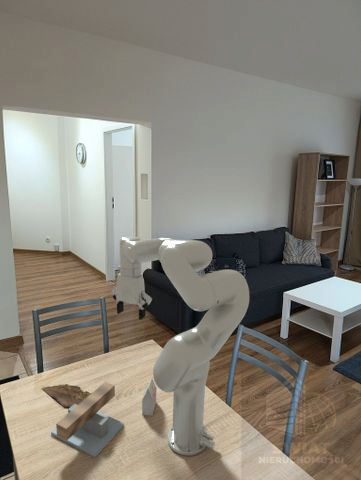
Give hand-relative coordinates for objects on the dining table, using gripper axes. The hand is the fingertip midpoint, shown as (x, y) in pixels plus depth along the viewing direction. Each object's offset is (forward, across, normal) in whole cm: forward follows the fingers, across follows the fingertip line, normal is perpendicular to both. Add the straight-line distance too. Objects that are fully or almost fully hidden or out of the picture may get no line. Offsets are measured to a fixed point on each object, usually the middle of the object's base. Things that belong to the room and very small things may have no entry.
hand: (131, 315), depth 121 cm
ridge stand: (+30, 0, -24) cm, 39 cm away
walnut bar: (+24, 0, -24) cm, 34 cm away
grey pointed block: (+31, +12, -6) cm, 33 cm away
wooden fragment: (+31, -17, -15) cm, 38 cm away
